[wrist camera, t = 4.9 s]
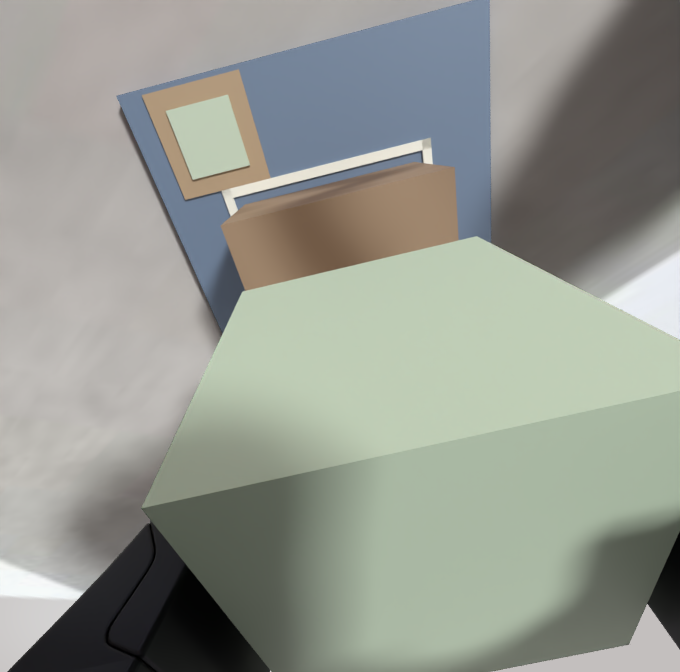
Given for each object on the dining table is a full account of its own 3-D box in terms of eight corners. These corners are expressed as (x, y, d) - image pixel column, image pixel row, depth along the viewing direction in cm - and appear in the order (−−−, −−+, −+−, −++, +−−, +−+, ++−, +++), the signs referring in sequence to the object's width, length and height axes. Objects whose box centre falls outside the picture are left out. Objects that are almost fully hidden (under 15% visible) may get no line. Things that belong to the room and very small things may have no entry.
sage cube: (476, 236, 8) (749, 376, 3) (480, 415, 10) (628, 644, 6) (242, 291, 8) (141, 508, 3) (304, 454, 11) (301, 708, 6)
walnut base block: (414, 161, 16) (454, 166, 11) (430, 316, 20) (465, 364, 15) (245, 204, 16) (220, 225, 12) (293, 348, 20) (289, 404, 15)
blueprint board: (483, 0, 14) (491, -7, 13) (488, 368, 22) (493, 374, 22) (122, 97, 14) (113, 95, 14) (264, 419, 23) (262, 426, 22)
